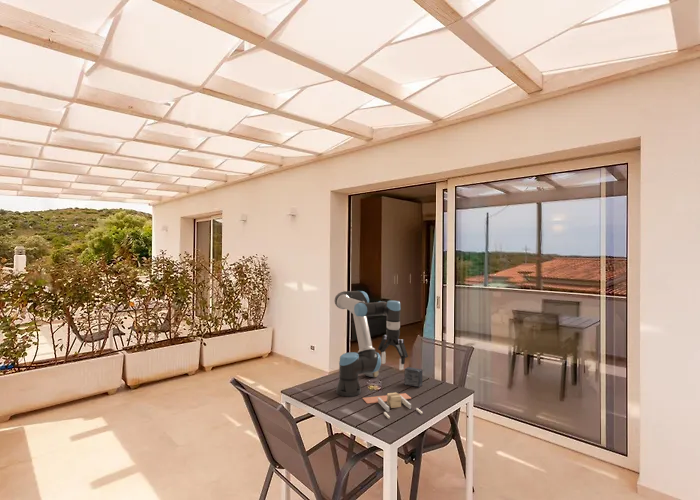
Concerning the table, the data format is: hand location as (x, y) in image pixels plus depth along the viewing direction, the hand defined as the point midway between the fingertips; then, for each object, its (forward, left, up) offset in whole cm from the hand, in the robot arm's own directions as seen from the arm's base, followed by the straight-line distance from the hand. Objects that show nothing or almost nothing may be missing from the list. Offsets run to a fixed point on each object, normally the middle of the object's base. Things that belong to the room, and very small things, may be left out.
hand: (392, 366), depth 203 cm
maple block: (-2, +2, -23) cm, 23 cm away
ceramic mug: (-53, +8, -23) cm, 58 cm away
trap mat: (-12, +2, -23) cm, 25 cm away
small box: (-29, +28, -23) cm, 46 cm away
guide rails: (-2, +2, -23) cm, 23 cm away
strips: (+10, +2, -23) cm, 25 cm away
